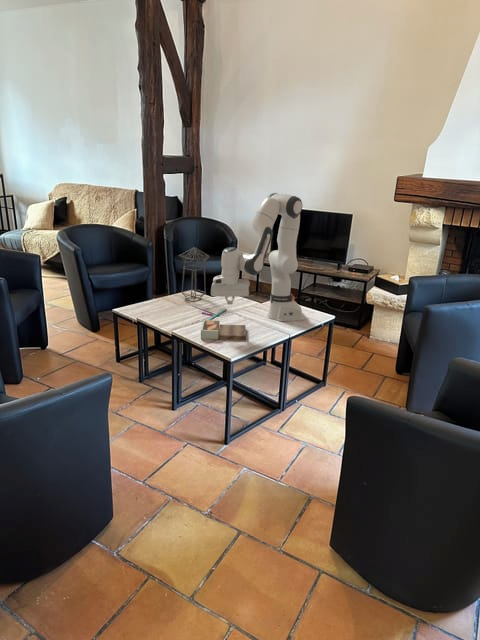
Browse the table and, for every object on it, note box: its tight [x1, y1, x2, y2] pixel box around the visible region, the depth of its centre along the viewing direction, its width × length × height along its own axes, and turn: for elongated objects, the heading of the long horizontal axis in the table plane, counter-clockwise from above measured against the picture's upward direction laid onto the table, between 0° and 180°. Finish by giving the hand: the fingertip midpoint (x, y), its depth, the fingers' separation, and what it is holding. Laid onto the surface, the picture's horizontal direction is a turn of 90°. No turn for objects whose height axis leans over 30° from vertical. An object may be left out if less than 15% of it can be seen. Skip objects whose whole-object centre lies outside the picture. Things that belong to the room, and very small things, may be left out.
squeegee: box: [201, 308, 227, 320], centre depth 264 cm, size 29×2×10 cm
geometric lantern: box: [178, 246, 211, 303], centre depth 288 cm, size 16×16×35 cm
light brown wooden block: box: [207, 321, 214, 329], centre depth 238 cm, size 5×5×4 cm
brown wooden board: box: [218, 324, 247, 341], centre depth 236 cm, size 14×16×2 cm
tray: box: [200, 319, 221, 341], centre depth 236 cm, size 9×16×5 cm, turn 0°
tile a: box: [207, 324, 220, 334], centre depth 232 cm, size 5×5×4 cm
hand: (229, 304), depth 235 cm, fingers closed
